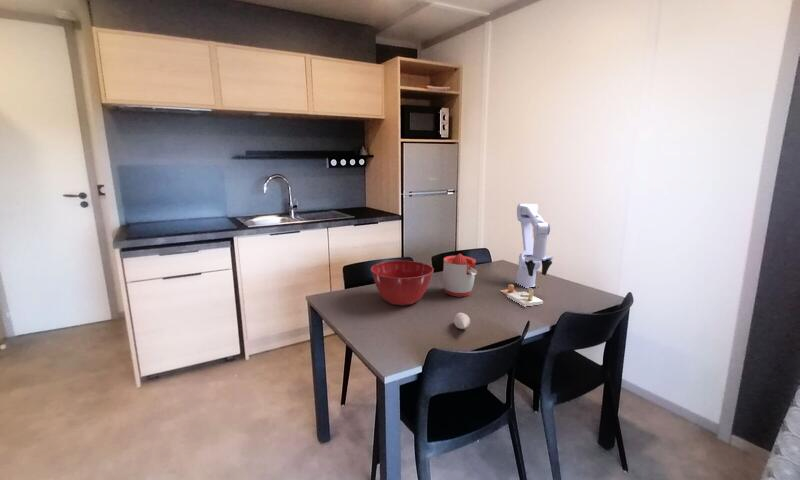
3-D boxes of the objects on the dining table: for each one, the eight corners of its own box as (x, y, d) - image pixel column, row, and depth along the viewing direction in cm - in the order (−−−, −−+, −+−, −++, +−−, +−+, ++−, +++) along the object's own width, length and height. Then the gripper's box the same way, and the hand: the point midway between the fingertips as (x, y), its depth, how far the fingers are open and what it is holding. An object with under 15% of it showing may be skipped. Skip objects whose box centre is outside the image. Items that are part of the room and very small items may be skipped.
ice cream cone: (463, 338, 141) (458, 327, 156) (476, 328, 141) (470, 318, 156) (452, 325, 141) (449, 315, 156) (466, 315, 141) (461, 306, 156)
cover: (500, 292, 192) (500, 283, 191) (512, 291, 194) (512, 282, 193) (508, 297, 185) (509, 288, 184) (520, 295, 188) (521, 286, 187)
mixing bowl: (357, 299, 177) (357, 267, 174) (400, 285, 198) (400, 256, 195) (403, 318, 159) (404, 282, 155) (444, 300, 179) (446, 268, 176)
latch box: (507, 297, 184) (507, 293, 184) (524, 295, 188) (524, 291, 187) (524, 307, 172) (524, 303, 172) (542, 305, 176) (543, 300, 175)
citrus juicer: (462, 302, 177) (465, 260, 173) (435, 292, 190) (436, 252, 185) (483, 294, 187) (486, 255, 183) (456, 285, 200) (458, 248, 195)
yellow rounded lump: (520, 301, 174) (521, 291, 173) (519, 297, 179) (520, 287, 178) (533, 302, 173) (534, 292, 172) (531, 298, 178) (532, 288, 177)
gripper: (532, 250, 178) (529, 278, 180) (558, 248, 182) (555, 276, 185) (522, 247, 185) (520, 274, 187) (548, 245, 189) (545, 272, 192)
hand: (537, 275), depth 186 cm, fingers open, 7 cm apart
